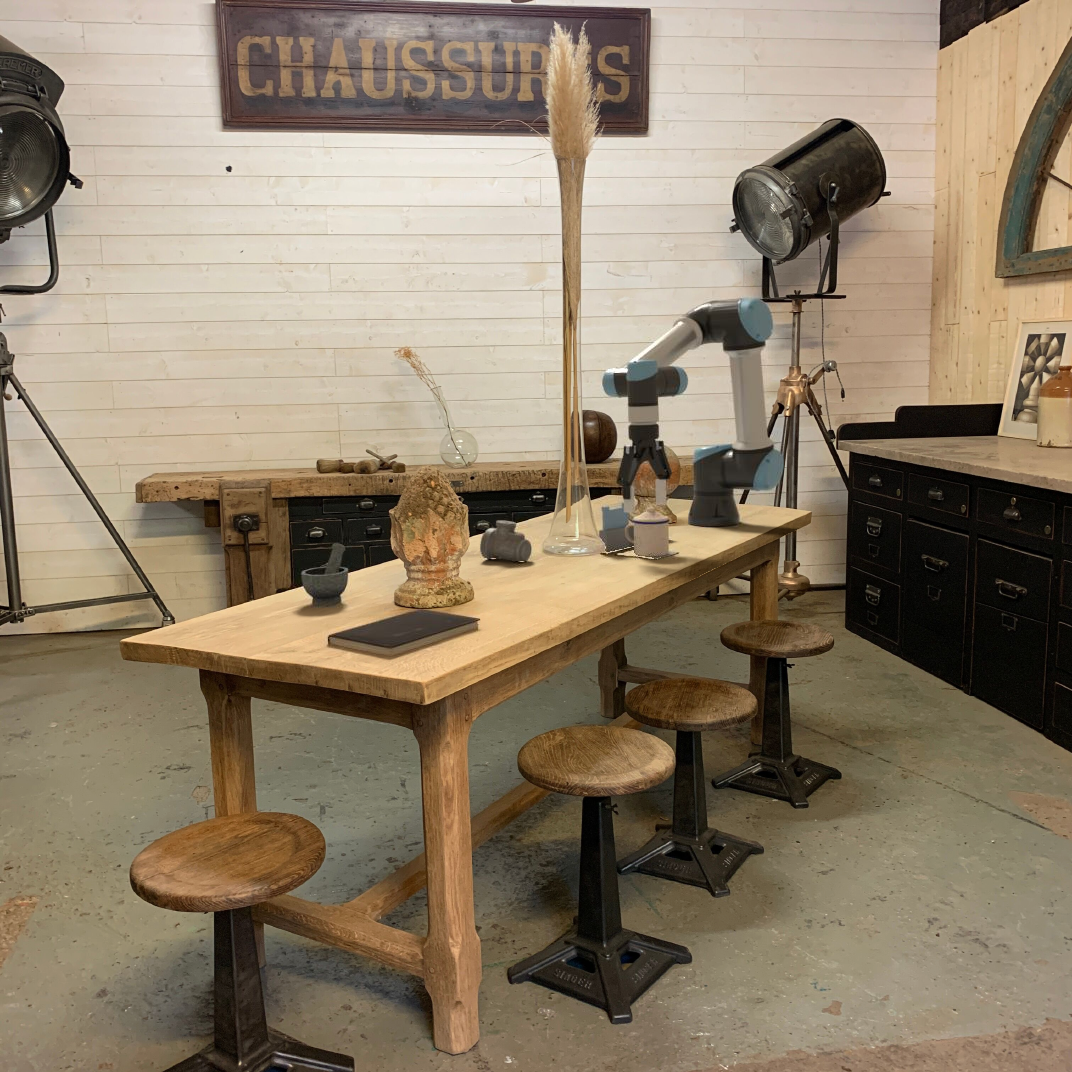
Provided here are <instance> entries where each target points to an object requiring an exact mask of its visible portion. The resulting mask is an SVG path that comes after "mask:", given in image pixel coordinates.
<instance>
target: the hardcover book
mask: <svg viewBox="0 0 1072 1072" xmlns="http://www.w3.org/2000/svg"><path fill="white" fill-rule="evenodd" d="M479 621H481V618H478V617H472V616H466V615H461V614H460V615H459V614H454V613H448V612H441V611H436V610H428V609H423V608H419V609H415V610H411V611H408V612H405V613H401V614H398V615H394V616H390V617H387V618H384V619H380V620H376V621H373V622H370V623H365V624H363V625H358V626H356V627H351V628H349V629H345V630H342V631H338V632H335V633H334V632H333V633H331V634H329V635H328V636H327V645H334V646H339V647H343V648H344V647H345V648H348V649H349V648H350V649H352V650H353V649H354V650H359V651H363V652H368V653H373V654H377V655H381V656H386V657H387V656H388V657H393V656H395V655H398V654H401V653H404V652H408V651H410V650H415V649H418V648H420V647H424V646H426V645H429V644H432V643H435V642H438V641H441V640H444V639H447V638H450V637H454V636H456V635H459V634H462V633H466V632H469V631H472V630H475V629H478V628H479Z"/></svg>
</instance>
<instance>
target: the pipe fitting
mask: <svg viewBox="0 0 1072 1072" xmlns="http://www.w3.org/2000/svg"><path fill="white" fill-rule="evenodd" d="M495 522H496V523H495V526H496V527H490V528H487V529H486V530H485V532H484V533H483V534H482V536H481V540H480V544H479V545H480V546H479V547H480V548H479V549H480V550H479V551H480V554H481V556H482V557H483V558H484V559H485V558H487V559H486V560H489V559H491V558H498V559H499V558H500V559H504V560H508V561H511V560H513V561H512V562H515V561H526V560H527V561H528V560H529V559H530V557H531V555H532V547H533V546H532V543H531V541H530V540H529V539H527V538H526V536H525V534H524V533H523V532H517V531H515V530H516V527H517V523H516V522H514V521H512V520H511V521H509V520H496V521H495ZM527 561H526V562H527Z"/></svg>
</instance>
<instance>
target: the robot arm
mask: <svg viewBox="0 0 1072 1072" xmlns="http://www.w3.org/2000/svg"><path fill="white" fill-rule="evenodd" d="M765 302H766V301H763V299H760V298H758V297H756V298H755V297H740V298H733V299H731V298H730V299H723V300H722V299H720V300H709V301H707V302H705V303H702V304H700V305H698V306H696V307H694V308H692V309H690V310H689V311H687V312H686V313H684V314H683V315H681V316H680V317H679V318H678V319H676V320H675V321H674V323H673V324H672V327H671V329H670V330H667V331H666V332H665V333H664V334H663V335H661V336H660V337H659V338H658V339H656V340H655V341H654V342H653V343H651V344H650V345H649V346H648V347H646V348H645V349H644V350H642V351H640V353H638V354H637V355H636V356H634V358H632V359H631V360H630V361H628V362H626V363H625V364H624V365H622V367H614V368H609V369H607V370H606V371H605V372H604V373H603V376H602V381H601V383H602V387H603V392H604V393H605V394H606V395H607V396H608V397H611V398H613V397H614V398H620V399H621V398H627V408H628V409H627V414H628V415H627V416H628V417H627V418H628V419H627V420H628V423H629V425H628V431H627V432H628V440H630V441H631V442H632V443H631V444H625V445H623V454H622V458H621V462H620V465H619V471H618V474H617V477H616V484H617V485H618V486H620V487H622V499H623V503H624V512H628V513H629V514H630V513H631V514H634V513H635V510H636V509H635V507H636V505H635V486H634V485H633V483H634V480H635V479H636V478H635V477H636V476H637V474H638V471H639V470H640V469H639V468H641V465H643V464H644V462H648V463H649V465H650V467H651V468H652V470H653V472H654V474H655V475H656V478H657V479H654V482H655V505H657V506H667V480H670V479H671V476H672V474H673V472H672V469H671V466H670V463H669V460H668V457H667V453H666V450H665V445H664V443H665V442H664V440H657V439H659V438H660V424H659V423H657V422H659V421H660V411H659V398H666V397H668V398H669V397H672V398H674V397H676V396H680V395H683V393H685V392H686V390H687V387H688V385H689V377H688V374H687V372H686V371H685V370H684V368H682V367H681V366H674V365H672V364H673V363H674V362H676V361H677V360H678V359H680V358H681V357H682V356H684V354H686V353H687V352H688V351H691V350H696V349H698V348H699V347H700V346H703V345H706V344H707V345H708V344H715V343H717V344H721V343H722V351H723V352H724V353H725V354H726V355H727V356H728V357H729V358H728V359H729V369H730V376H731V378H730V379H731V389H732V391H731V392H732V399H733V400H732V401H733V402H732V403H733V411H734V423H735V434H736V435H735V436H736V440H735V441H734V443H727V444H726V443H725V444H718V445H710V446H709V445H708V446H703V447H702V446H701V447H697V448H696V449H695V450H694V452H693V461H692V466H693V499H692V502H691V506H690V507H689V508H690V509H689V511H688V516H687V521H688V522H687V523H688V524H689V525H692V526H699V527H700V526H701V527H727V526H734V525H738V524H740V520H741V518H740V513H739V510H738V506H737V502H736V500H735V496H734V490H744V491H745V490H748V491H755V492H761V491H762V492H765V491H770V490H771V491H772V490H773V489H775V488H776V487H777V486H778V484H779V482H780V480H781V478H782V476H783V473H784V472H783V471H784V466H785V465H784V463H785V461H784V456H783V454H782V452H781V451H780V450H777V449H775V447H774V446H775V445H774V444H775V443H774V440H772V439H771V438H770V437H768V436H769V435H768V427H767V415H766V414H767V412H766V401H765V391H764V390H765V389H764V378H763V377H764V375H763V363H762V355H761V354H762V351H763V350H764V348H766V345H767V343H766V341H768V340H769V339H770V338H771V336H772V334H773V326H774V322H773V315H772V312H771V310H770V308H769V306H768V304H766V303H765Z"/></svg>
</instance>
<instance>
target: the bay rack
mask: <svg viewBox="0 0 1072 1072" xmlns="http://www.w3.org/2000/svg"><path fill="white" fill-rule="evenodd" d="M629 524H634V522H629ZM625 528H626V526H623V527H619V528H615V529H610V530H606V531H605V530H603V529H599V530H598V535H599V536H598V538H599V537H600V538H601V539H602V541H603V542H604V543H605V546H606V549H605V551H606V552H610V551H615V550H619V549H624V548H627V547H632V546H634V543H631V542H629V541H628V539H627V538H626V535H625ZM629 535H630V537H631V538H632V539H633V540H634V527H632V526H631V527H630V528H629ZM677 553H680V552H679V551H671V550H669V553H668V554H667V555H664V556H656V557H652V558H654V559H657V558H660V557H664V558H666V557H665V556H668V557H670V556H669V555H672V556H674V555H673V554H675V555H678V554H677ZM657 560H658V559H657Z"/></svg>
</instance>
